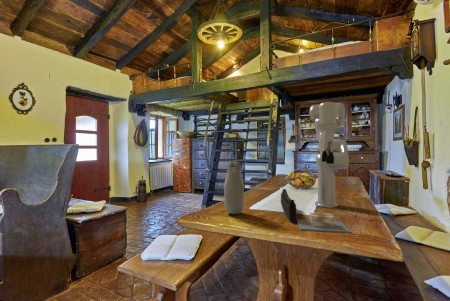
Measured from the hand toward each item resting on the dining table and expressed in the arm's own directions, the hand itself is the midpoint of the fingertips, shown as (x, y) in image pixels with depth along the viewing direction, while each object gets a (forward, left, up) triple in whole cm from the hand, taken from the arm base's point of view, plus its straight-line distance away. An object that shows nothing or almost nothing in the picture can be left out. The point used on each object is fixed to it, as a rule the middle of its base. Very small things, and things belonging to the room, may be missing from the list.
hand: (327, 162), depth 116 cm
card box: (+13, -6, -27) cm, 30 cm away
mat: (+13, -6, -27) cm, 31 cm away
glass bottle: (0, -47, -28) cm, 54 cm away
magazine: (-4, -19, -28) cm, 34 cm away
